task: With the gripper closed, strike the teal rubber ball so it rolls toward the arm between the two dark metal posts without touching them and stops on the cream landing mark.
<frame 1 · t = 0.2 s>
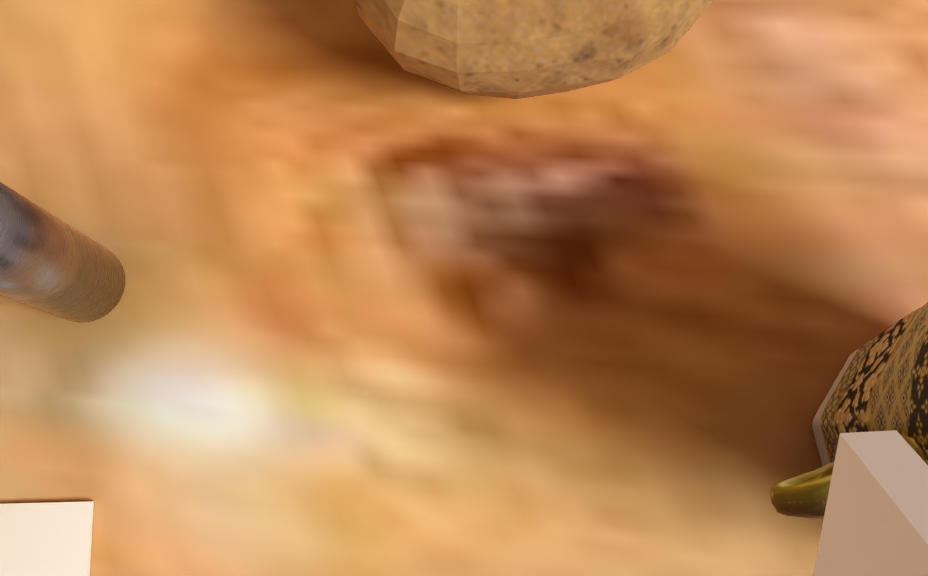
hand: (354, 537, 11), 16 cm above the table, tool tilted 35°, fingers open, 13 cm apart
potato: (545, 7, 31), on the table
post 1: (84, 283, 28), on the table
ceramic cup: (865, 449, 28), on the table
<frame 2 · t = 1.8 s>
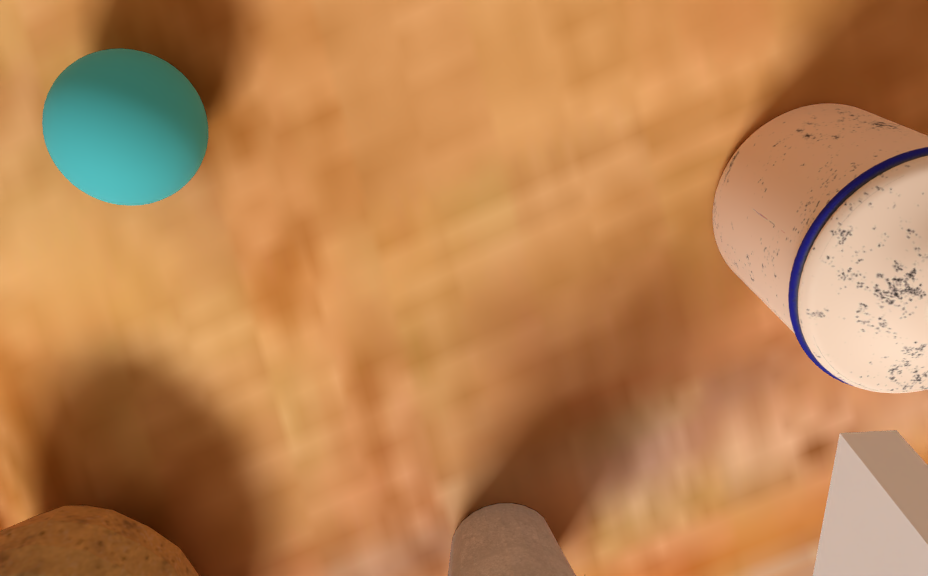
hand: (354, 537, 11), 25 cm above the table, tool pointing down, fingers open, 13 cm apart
teacup with lid: (832, 179, 37), on the table
potato: (132, 568, 42), on the table
house plant: (494, 521, 43), on the table
ball: (128, 128, 30), on the table
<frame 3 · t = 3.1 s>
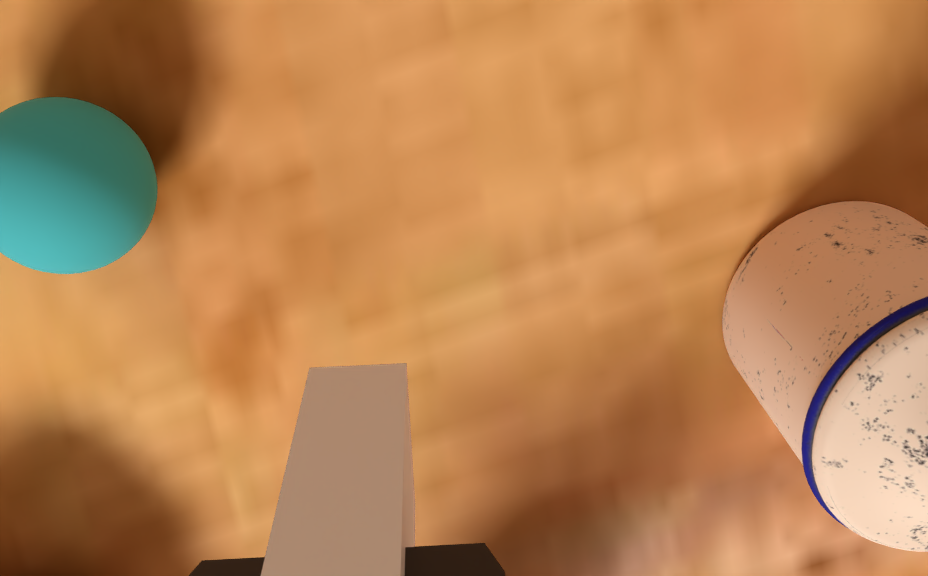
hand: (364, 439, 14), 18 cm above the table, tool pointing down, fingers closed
teacup with lid: (860, 281, 33), on the table
ball: (64, 186, 27), on the table
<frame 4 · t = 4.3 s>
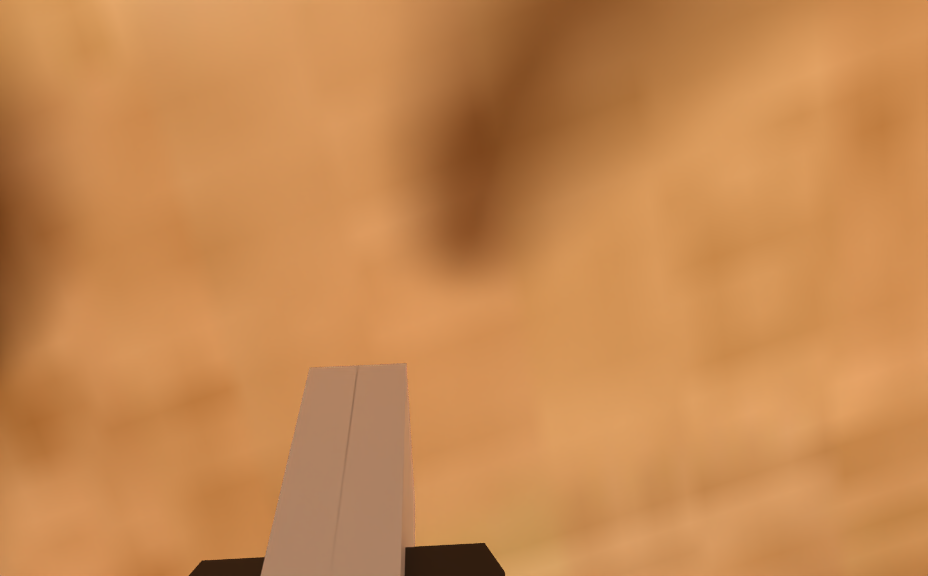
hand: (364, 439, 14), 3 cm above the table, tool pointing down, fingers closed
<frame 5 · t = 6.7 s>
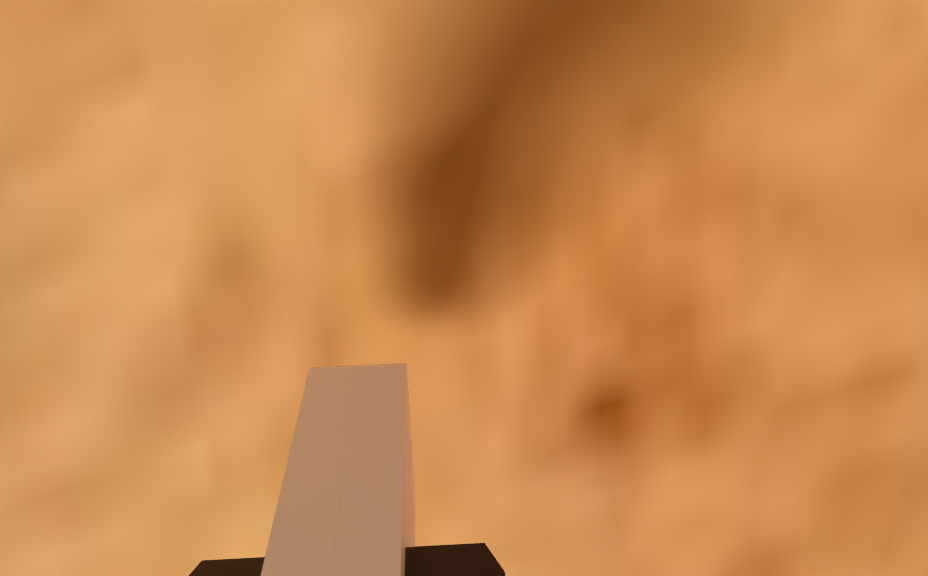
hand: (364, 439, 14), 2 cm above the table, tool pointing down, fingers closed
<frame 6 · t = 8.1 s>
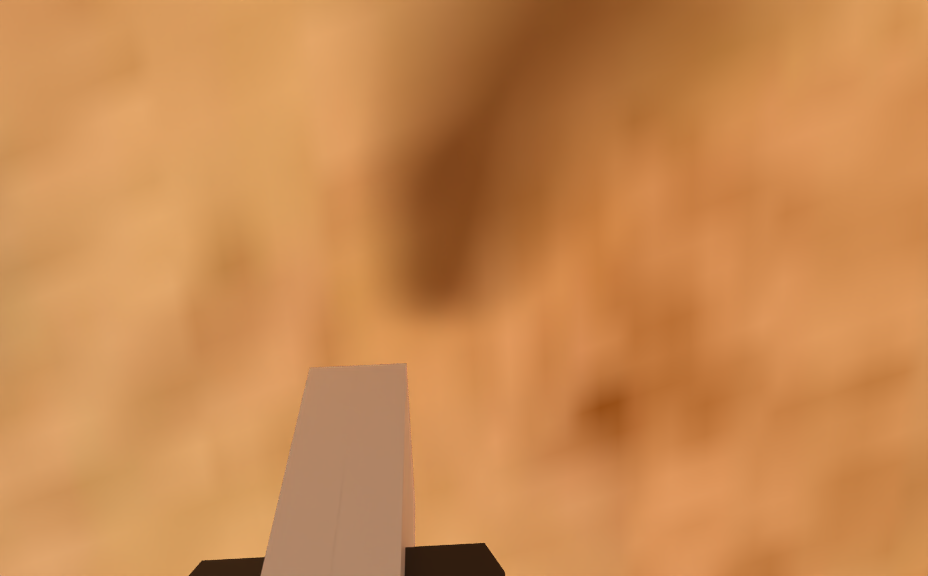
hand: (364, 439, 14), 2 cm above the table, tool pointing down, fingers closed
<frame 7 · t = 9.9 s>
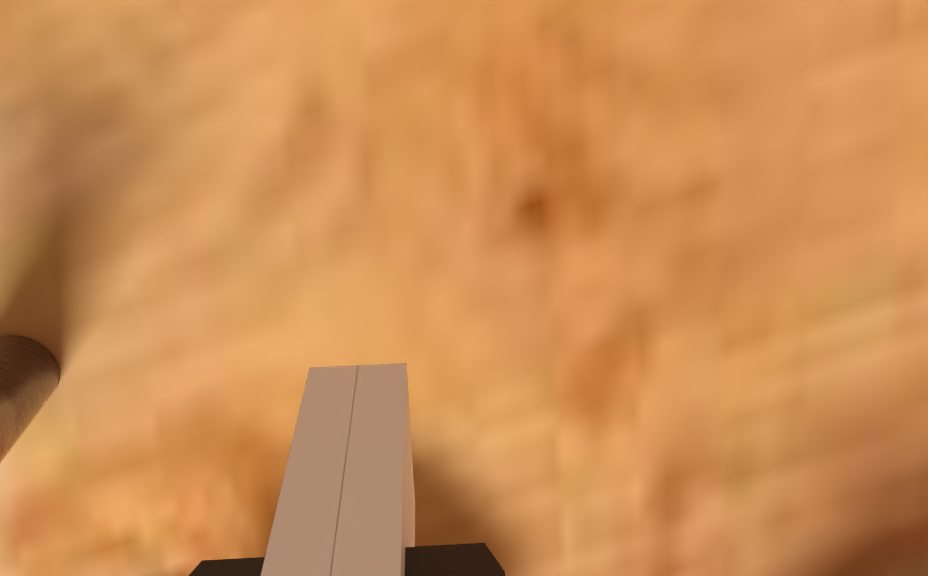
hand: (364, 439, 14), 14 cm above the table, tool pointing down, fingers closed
post 1: (19, 369, 29), on the table
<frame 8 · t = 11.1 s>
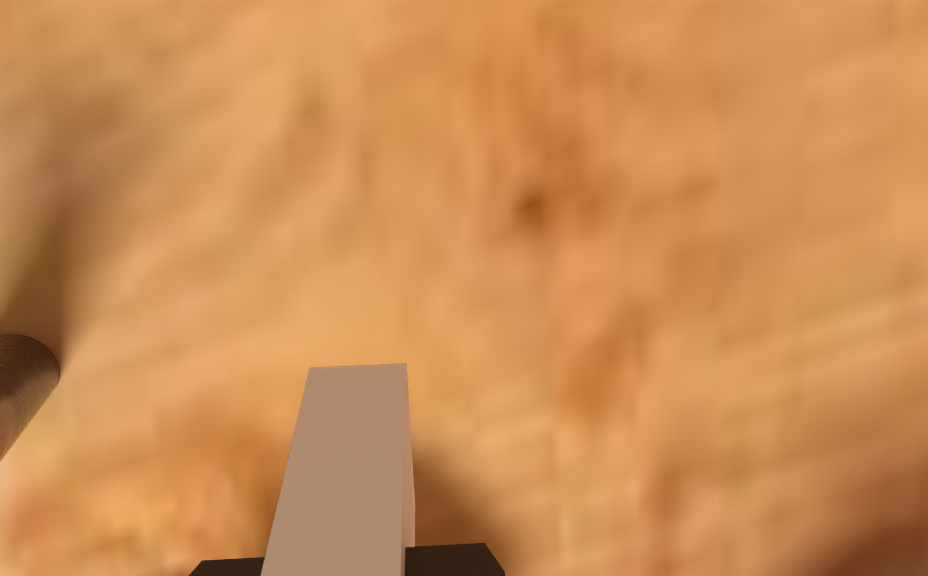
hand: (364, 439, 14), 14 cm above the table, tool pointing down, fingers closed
post 1: (19, 368, 29), on the table
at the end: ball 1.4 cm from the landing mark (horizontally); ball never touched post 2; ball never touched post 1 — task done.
